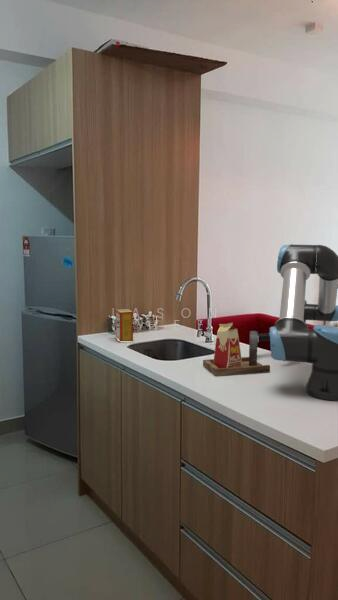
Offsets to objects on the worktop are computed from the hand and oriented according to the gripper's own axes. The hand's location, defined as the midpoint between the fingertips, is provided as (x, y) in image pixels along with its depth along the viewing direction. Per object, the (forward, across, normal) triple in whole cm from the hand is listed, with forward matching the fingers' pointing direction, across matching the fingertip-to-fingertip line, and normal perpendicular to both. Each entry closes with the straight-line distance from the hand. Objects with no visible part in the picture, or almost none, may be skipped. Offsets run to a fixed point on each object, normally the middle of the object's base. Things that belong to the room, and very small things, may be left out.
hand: (264, 343), depth 205 cm
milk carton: (+19, +6, -9) cm, 22 cm away
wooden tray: (+16, +4, -9) cm, 18 cm away
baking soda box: (+8, +76, -9) cm, 77 cm away
